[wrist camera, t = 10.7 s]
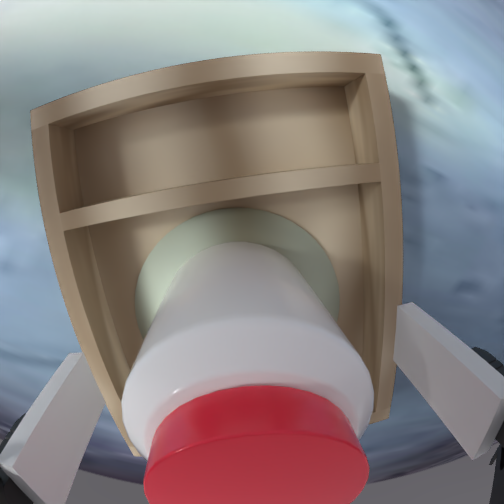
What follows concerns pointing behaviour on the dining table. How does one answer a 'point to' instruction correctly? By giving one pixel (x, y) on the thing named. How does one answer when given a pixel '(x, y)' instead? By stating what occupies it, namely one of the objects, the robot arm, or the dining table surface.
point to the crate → (224, 195)
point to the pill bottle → (247, 388)
